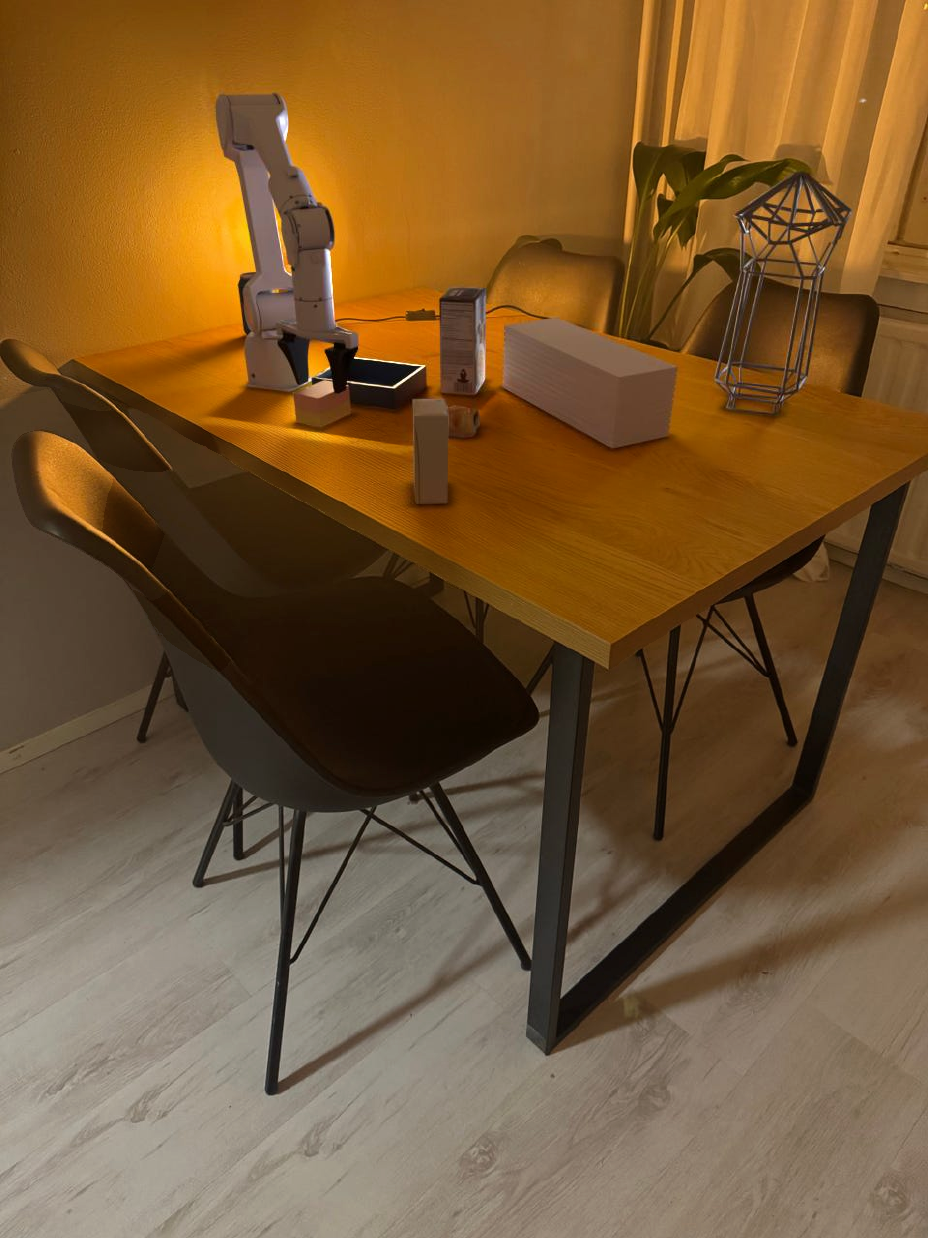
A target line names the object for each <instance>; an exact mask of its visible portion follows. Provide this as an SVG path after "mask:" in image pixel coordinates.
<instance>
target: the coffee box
mask: <svg viewBox="0 0 928 1238" xmlns="http://www.w3.org/2000/svg"><path fill="white" fill-rule="evenodd" d="M438 307H439V309H438V310H439V313H438V314H439V371H440V373H439V375H440V378H439V379H440V393H442V394H455V395H470V396H475V395H476V394H477V393H478V392H479V390H480V389H481V387H482V386H483V384H484V383H485V380H486V341H487V340H486V339H487V338H486V337H487V336H486V335H487V334H486V333H487V330H486V329H487V328H486V327H487V287H471V286H450V287H449V288H447V290H446V291H445V292H444V293H443V295H441V296H440V298H439V299H438Z"/></svg>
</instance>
